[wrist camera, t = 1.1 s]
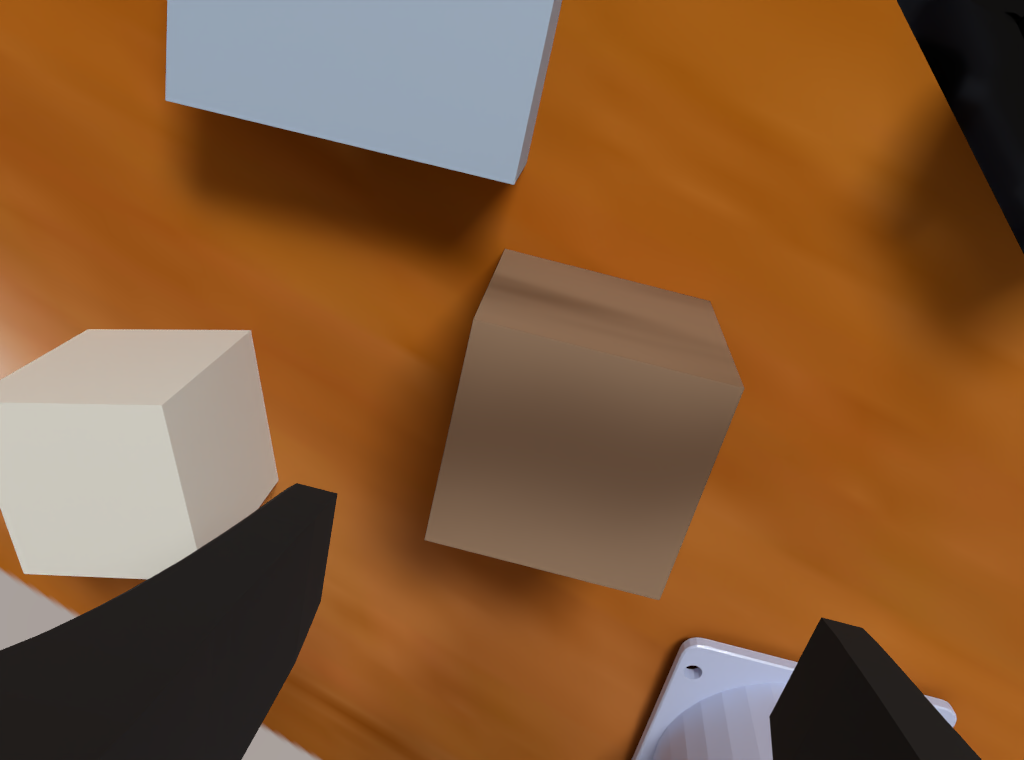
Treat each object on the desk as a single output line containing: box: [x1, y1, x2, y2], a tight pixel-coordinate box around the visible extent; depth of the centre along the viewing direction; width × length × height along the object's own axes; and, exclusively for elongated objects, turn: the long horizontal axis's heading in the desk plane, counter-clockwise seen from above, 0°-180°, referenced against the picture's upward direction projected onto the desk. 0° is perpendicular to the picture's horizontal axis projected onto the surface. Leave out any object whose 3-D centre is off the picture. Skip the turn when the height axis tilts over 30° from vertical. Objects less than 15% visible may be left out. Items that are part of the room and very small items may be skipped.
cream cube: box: [0, 329, 278, 579], centre depth 19 cm, size 4×4×4 cm
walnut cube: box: [425, 249, 744, 600], centre depth 17 cm, size 5×5×5 cm
